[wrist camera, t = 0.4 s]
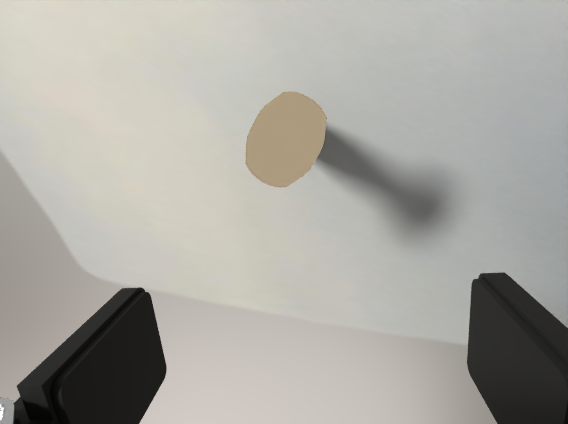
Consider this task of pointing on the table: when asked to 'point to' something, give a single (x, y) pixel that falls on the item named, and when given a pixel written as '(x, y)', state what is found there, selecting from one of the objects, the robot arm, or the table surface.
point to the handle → (285, 139)
